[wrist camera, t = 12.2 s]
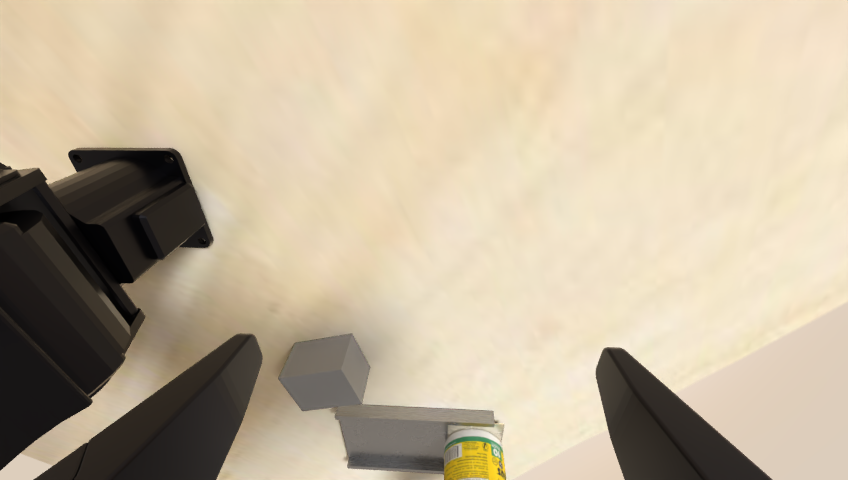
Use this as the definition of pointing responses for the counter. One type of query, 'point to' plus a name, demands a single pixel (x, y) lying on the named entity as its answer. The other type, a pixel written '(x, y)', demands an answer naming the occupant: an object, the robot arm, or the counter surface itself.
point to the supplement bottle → (473, 456)
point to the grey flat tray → (406, 435)
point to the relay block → (326, 373)
